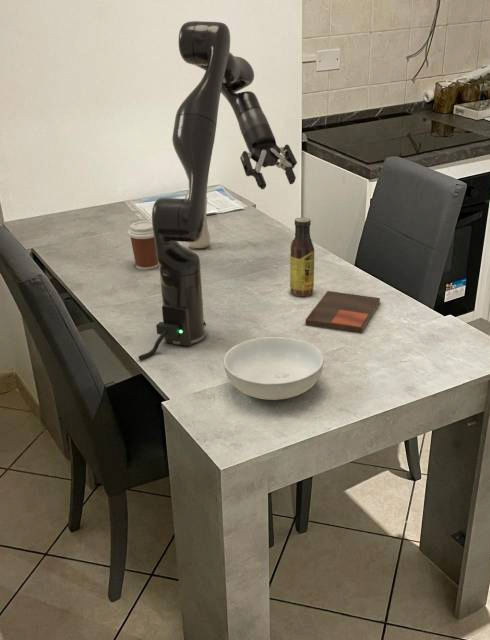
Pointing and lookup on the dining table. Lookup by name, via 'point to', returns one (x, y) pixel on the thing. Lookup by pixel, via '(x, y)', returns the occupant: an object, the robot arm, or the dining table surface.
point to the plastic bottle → (205, 236)
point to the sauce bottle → (302, 259)
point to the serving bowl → (273, 367)
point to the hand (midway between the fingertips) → (278, 185)
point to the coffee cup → (143, 244)
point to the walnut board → (343, 312)
